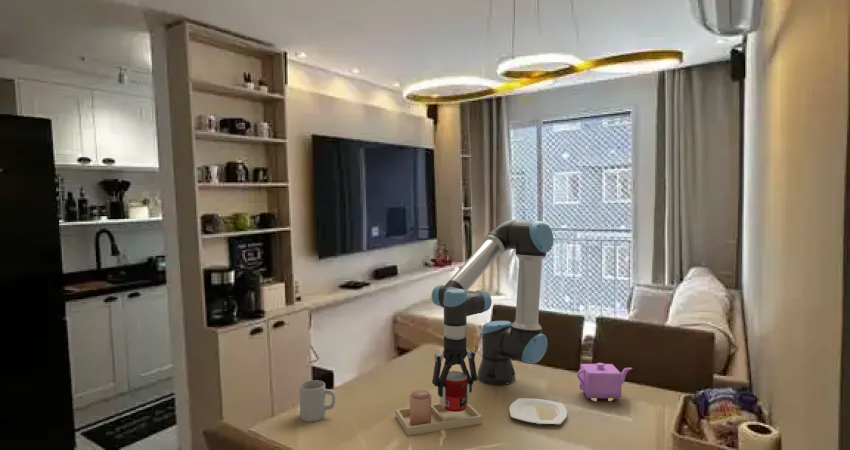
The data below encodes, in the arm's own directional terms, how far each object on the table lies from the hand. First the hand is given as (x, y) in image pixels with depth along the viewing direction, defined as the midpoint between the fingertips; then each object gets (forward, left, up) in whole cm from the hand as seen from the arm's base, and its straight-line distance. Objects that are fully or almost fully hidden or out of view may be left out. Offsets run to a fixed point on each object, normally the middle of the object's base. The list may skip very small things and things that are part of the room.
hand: (454, 403), depth 168 cm
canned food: (0, 0, -1) cm, 1 cm away
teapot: (-59, +1, -6) cm, 59 cm away
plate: (-28, +6, -6) cm, 29 cm away
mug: (+43, -17, -6) cm, 47 cm away
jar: (+12, 0, -5) cm, 13 cm away
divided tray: (+6, 0, -5) cm, 8 cm away
